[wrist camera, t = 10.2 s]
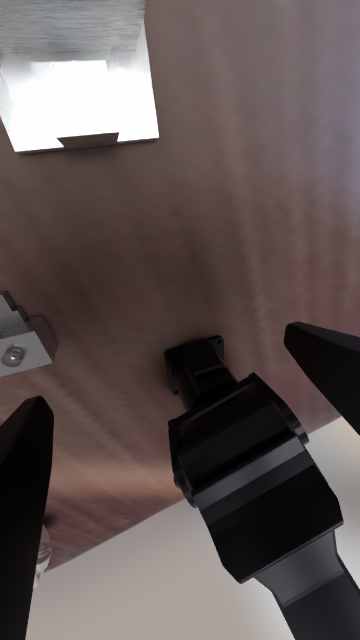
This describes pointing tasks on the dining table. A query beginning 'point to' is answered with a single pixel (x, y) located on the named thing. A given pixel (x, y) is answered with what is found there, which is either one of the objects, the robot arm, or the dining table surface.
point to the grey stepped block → (23, 339)
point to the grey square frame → (69, 24)
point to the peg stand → (77, 98)
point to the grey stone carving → (42, 555)
